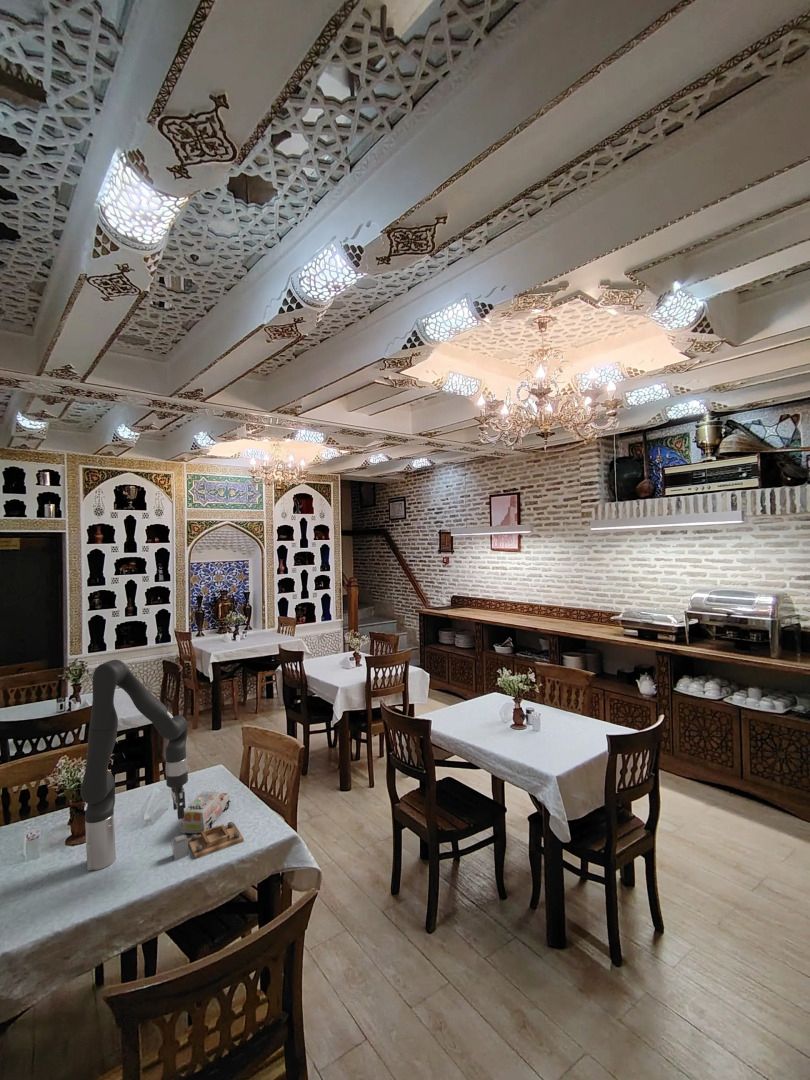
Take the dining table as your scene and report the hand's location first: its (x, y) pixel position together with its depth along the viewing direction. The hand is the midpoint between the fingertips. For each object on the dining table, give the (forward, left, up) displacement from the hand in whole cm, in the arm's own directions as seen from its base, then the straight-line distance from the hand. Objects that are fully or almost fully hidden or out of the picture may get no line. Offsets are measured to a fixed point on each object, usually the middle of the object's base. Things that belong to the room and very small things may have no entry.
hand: (178, 813), depth 193 cm
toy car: (+14, +20, -16) cm, 29 cm away
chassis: (+13, +1, -16) cm, 20 cm away
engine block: (0, 0, -16) cm, 16 cm away
